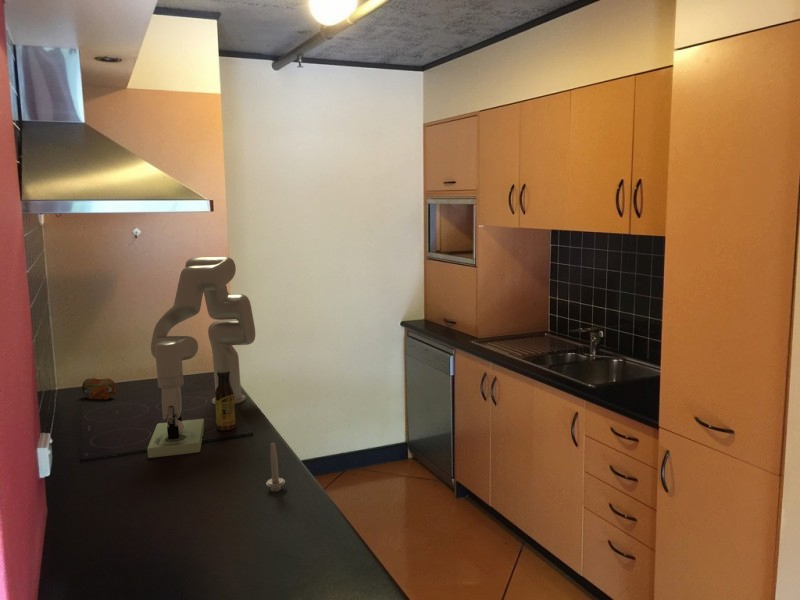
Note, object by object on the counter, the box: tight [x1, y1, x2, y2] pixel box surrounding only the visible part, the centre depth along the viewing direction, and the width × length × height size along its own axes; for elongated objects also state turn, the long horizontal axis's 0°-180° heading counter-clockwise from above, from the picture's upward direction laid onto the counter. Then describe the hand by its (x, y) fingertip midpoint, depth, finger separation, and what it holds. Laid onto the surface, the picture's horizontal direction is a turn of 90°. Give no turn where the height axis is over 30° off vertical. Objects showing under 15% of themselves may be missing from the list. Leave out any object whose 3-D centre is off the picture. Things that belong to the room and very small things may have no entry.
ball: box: [174, 420, 184, 435], centre depth 207 cm, size 5×5×5 cm
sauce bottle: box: [214, 370, 236, 432], centre depth 220 cm, size 6×6×20 cm
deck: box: [146, 418, 206, 459], centre depth 210 cm, size 24×15×3 cm, turn 13°
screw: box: [265, 442, 286, 493], centre depth 170 cm, size 13×5×5 cm
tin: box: [81, 377, 117, 400], centre depth 263 cm, size 15×3×8 cm, turn 73°
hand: (175, 433), depth 205 cm, fingers open, 9 cm apart
